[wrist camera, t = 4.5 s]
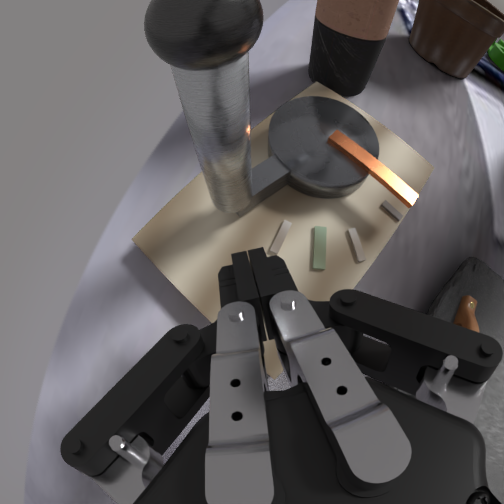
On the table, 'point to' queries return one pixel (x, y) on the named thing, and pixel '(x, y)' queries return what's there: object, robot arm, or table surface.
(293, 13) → the table surface
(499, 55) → the tape dispenser
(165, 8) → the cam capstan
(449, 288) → the serving board
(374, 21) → the travel mug
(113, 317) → the table surface
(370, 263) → the flat beige board
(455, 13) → the plant pot
